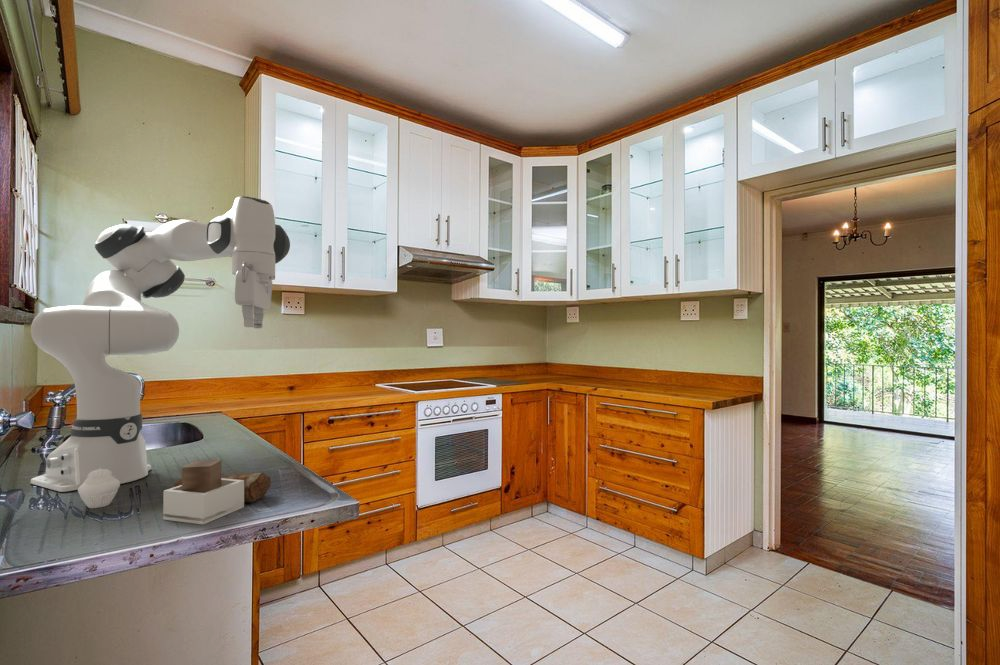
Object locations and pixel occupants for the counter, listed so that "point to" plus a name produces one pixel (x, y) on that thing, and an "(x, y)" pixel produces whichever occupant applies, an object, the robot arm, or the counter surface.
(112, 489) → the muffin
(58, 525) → the counter surface
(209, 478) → the walnut block
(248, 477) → the bread
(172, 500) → the bin
